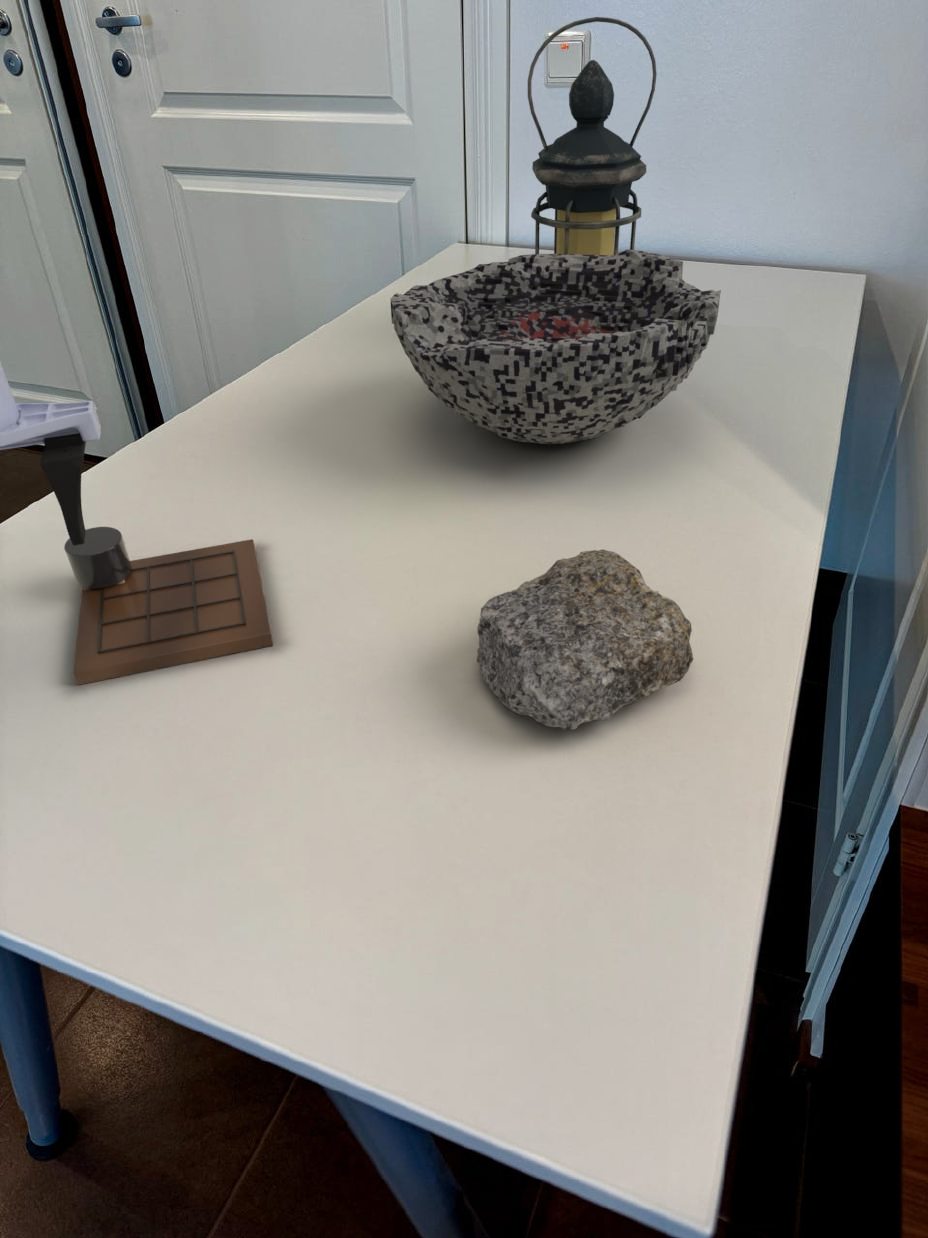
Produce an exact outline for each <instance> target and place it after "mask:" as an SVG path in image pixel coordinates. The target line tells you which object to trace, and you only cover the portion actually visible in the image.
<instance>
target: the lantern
mask: <svg viewBox="0 0 928 1238" xmlns="http://www.w3.org/2000/svg"><path fill="white" fill-rule="evenodd" d="M591 23H609V24H614V25H618V26H620V27H623V28H625V29H628V30H629V31H630V32H631V33H633V34H635V36H637V37H638V38H639V39H640V41H642V43H643V45H644V46H645V48H646V49H647V51H648V55H649V57H650V61H651V69H652V81H651V89H650V93H649V97H648V100H647V103H646V106H645V109H644V111H643V113H642V115H641V117H640V120H639V122H638V123H637V125H636V128H635V130H634V133H633V135H632V137H631V140H630V142H627V141H625V140H624V139H623V138H622V137H621V136H619V135H618V134H617V133H615V132H613V131H612V130H610V129H609V128H607V127H605V122H606V121H607V120H608V119H609V116H611V113H612V110H613V107H614V101H615V100H614V99H615V92H614V87H613V83H612V82H611V80H610V79H609V77H608V76H607V74H606V72H605V71H604V69H603V67H602V66H601V65H600V63H599V62H598V61H597V60H595V59H591V60H590V61H588V62H587V63H586V64H585V65H584V66H583V68H582V69H581V71H580V72H579V73H578V75H577V77H576V78H575V79H574V80H573V82H572V83H571V86H570V89H569V93H568V106H569V110H570V114H571V116H572V118H573V119H574V121H575V122H576V126H575V127H574V128H572V129H570V130H568V131H567V132H565V133H564V134H562V135H560V136H559V137H557V138H556V139H554V141H553V143H551V144H548V145H547V141H546V138H545V136H544V133H543V130H542V127H541V125H540V122H539V120H538V117H537V114H536V112H535V107H534V101H533V97H532V81H533V80H532V79H533V74H534V70H535V67H536V64H537V63H538V61H539V57H540V56H541V54H542V53H543V51H544V50H545V48H546V47H547V46H548V45H549V44H550V43H551V42H552V41H553V40H554V39H556V37H558V36H559V35H561V34H562V33H564V32H565V31H567V30H570V29H572V28H574V27H578V26H582V25H586V24H591ZM656 62H657V61H656V57H655V54H654V51H653V48H652V46H651V45H650V43H649V41H648V40H647V37H645V35H643V33H642V32H641V31H640V30H639V29H637V28H636V27H635V26H633V25H632V24H630V23H629V22H627V21H623V20H621V19H619V18H618V19H617V18H614V17H613V18H612V17H604V16H603V17H602V16H593V17H588V18H583V19H579V20H574V21H572V22H570V23H568V24H566V25H563V26H561V27H560V28H559V29H558V30H556V31H554V32H553V33H552V34H551V35H550V36H549V37H547V39H545V40H544V42H543V43H542V44H541V46H540V47H539V49H538V50H537V52H536V53H535V54H534V57H533V59H532V62H531V64H530V67H529V72H528V77H527V100H528V105H529V110H530V114H531V118H532V119H533V122H534V125H535V127H536V130H537V132H538V136H539V139H540V141H541V145H542V148H543V149H541V150H540V151H539V152H538V153H537V154H538V158H537V159H535V160H533V161H532V166H531V170H532V171H533V174H534V176H535V178H536V179H537V181H538V182H539V183H540V184H541V185H542V186H543V185H544V186H545V191H544V192H543V193H542V194H540V196H539V197H538V198H537V201H536V203H535V207H533V209H532V211H531V213H530V218H532V220H534V221H535V229H534V230H535V233H534V234H535V236H534V239H535V240H534V243H535V244H534V254H540V225H544V226H548V227H551V228H554V237H553V238H554V239H553V240H554V241H553V254H580V255H617V254H619V245H620V244H619V242H620V228H621V226H625V225H630V224H631V231H630V242H629V243H630V245H629V250H635V245H636V232H637V231H636V230H637V220H639V219H641V218H642V208H641V207H640V206H638V197H637V193H636V192H634V191H633V190H632V185H633V183H634V182H637V181H639V180H641V179H642V178H643V177H644V176H645V175H646V174H647V164H645V162H643V161H642V160H641V158H642V155H641V154H640V153H639V152H638V151H637V150H636V149H635V148H634V147H633V146H634V144H635V143H636V140H637V138H638V134H639V132H640V130H641V127H642V126H643V123H644V121H645V119H646V117H647V115H648V113H649V110H650V108H651V105H652V100H653V99H654V94H655V92H656V82H657V75H658V74H657V63H656ZM630 196H631V197H632V202H631V201H630ZM545 199H546V202H544V203H542V202H543V200H545ZM621 208H624V209H627V210H631V211H632V214H631V215H629V216H627V217H626V216H625V217H621ZM550 209H552V210H554V219H552V218H548V217H544V216H541V212H543V211H545V210H550Z"/></svg>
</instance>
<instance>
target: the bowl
mask: <svg viewBox="0 0 928 1238" xmlns="http://www.w3.org/2000/svg"><path fill="white" fill-rule="evenodd" d="M683 269H684V261H683V260H681V259H672V258H670V257H668V256H666V255H662V254H659V253H652V252H651V253H650V252H648V251H644V250H636V249H634V250H630V249H628V248H627V249H624V250H623V251H621V252H618V254H617V255H614V254H613V255H580V254H554V253H539V254H535V253H533V254H520V255H517V256H514V257H511V258H509V259H508V261H492V262H490V263H489V262H488V263H479V264H478V265H476V266H475V267H473V268H471V269H468V270H465V271H463V272H459V273H455V274H452V275H449V276H446V277H442V278H439V279H436V280H433V281H432V282H430V283H429V284H423V285H421V284H420V285H413V286H412V287H411V288H410V289H408V290H407V291H406V292H404V293H403V294H402V293H398V292H395V294H393V295H392V296H391V297H390V299H389V300H390V316H391V325H393V329H394V331H395V334H396V336H397V338H398V340H399V343H400V344H401V347H402V350H403V351H404V354H405V355H406V357H407V358H408V359H409V361H410V363H411V365H412V367H413V369H414V371H415V372H416V373H417V374H418V375H419V376H420V378H421V379H422V381H423V383H424V384H425V385H426V386H427V388H428V390H429V392H431V393H432V394H433V395H434V396H435V397H436V399H438V400H440V401H441V402H443V403H444V404H445V406H446V407H447V408H449V409H450V410H452V411H453V412H455V413H456V414H457V415H459V416H460V417H462V418H464V419H465V420H466V421H468V422H470V423H472V424H473V425H475V426H477V427H479V428H482V429H485V430H487V431H488V433H494V434H496V435H497V436H499V437H500V438H502V439H509V440H512V441H515V442H519V443H530V444H531V443H532V444H540V445H564V444H570V443H575V442H576V443H578V442H581V441H588V440H592V439H596V438H598V437H599V436H601V435H603V434H606V433H608V432H612V431H614V430H616V429H620V428H623V427H625V426H626V425H627V424H629V423H631V422H633V421H635V420H637V419H638V420H639V419H641V418H642V417H643V416H644V415H645V414H646V413H647V412H648V411H649V410H651V409H652V408H654V407H656V406H658V404H659V403H661V402H662V401H663V400H664V399H665V398H667V396H668V395H669V394H670V393H671V392H674V391H677V389H678V385H680V384H682V383H683V382H684V380H686V379H688V378H689V376H690V374H691V373H692V372H693V369H694V366H695V363H696V362H698V361H699V360H700V359H701V357H702V354H703V352H704V351H705V350H706V349H707V348H708V344H709V342H710V338H711V336H713V335H714V334H715V329H716V325H717V321H718V316H719V308H720V301H721V300H720V299H721V291H722V290H714V289H708V290H701V289H700V288H697V287H696V286H694V285H692V284H690V283H688V282H686V281H685V280H684V279H683V272H684V270H683Z"/></svg>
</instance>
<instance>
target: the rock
mask: <svg viewBox="0 0 928 1238" xmlns="http://www.w3.org/2000/svg"><path fill="white" fill-rule="evenodd" d="M692 631H693V628H692V621H690V620H689V619H688V618H687V617H686V615H685V614H684V612H683V611H682V609H681V607H680V606H679V605H678V604H677V602H675V601H674V600H673V599H671V598H669V597H667V596H664V595H662V594H661V593H660V592H659V591H658V590H655V591H654V590H653V589H652V588H650V586H648V585H647V583H646V582H645V579H644V576H643V575H642V572H641V571H640V570H639V569H638V568H637V567H636V566H635V565H633V564H632V563H630V562H629V561H628V560H627V559H626V558H624V557H623V556H622V555H620V554H618V553H617V552H615V551H611V550H607V549H600V550H599V549H598V550H596V549H595V550H584V551H580V553H578V554H577V555H575V556H573V557H568V558H561V559H557V560H556V561H555V562H554V563H553V565H552V566H551V567H549V569H548V570H547V571H546V572H545V573H543V574H541V575H539V576H537V577H534V578H533V579H531V580H528V581H527V580H526V581H524V582H523V583H521V584H520V585H519V587H518V588H517V589H513V590H510V591H506V592H503V593H500V594H498V595H494V596H493V597H492V598H489V599H488V600H487V601H486V602H485V604H484V605H483V606H482V607H480V617H479V622H478V624H477V635H478V637H479V639H478V648H477V650H476V651H477V657H476V662H477V664H478V668H479V673H480V674H481V676H482V678H483V680H484V682H485V683H486V684H487V685H488V688H489V689H490V690H491V691H492V692H493V694H494V696H496V697H497V698H499V701H500V702H501V703H502V704H503V705H504V707H506V708H507V709H509V710H510V711H511V712H512V713H516V714H519V715H520V716H521V717H523V716H529V717H531V718H533V719H534V721H536V722H538V723H540V724H542V725H544V726H546V727H550V728H561V729H563V730H576V729H578V727H579V725H581V724H583V723H590V722H592V721H594V720H595V721H599V720H601V721H608V720H609V719H610V718H612V717H613V716H614V715H616V713H617V712H618V711H620V709H622V708H623V707H624V706H625V705H631V704H632V703H633V702H637V701H640V700H642V699H644V698H646V697H648V696H650V695H652V694H653V693H656V692H658V691H660V690H661V689H663V688H665V687H669V686H671V685H674V684H676V683H678V682H681V681H682V680H683V678H684V677H685V675H686V674H687V673H688V672H689V669H690V667H691V665H692V663H693V661H694V654H693V649H692V647H691V643H690V641H691V635H692Z"/></svg>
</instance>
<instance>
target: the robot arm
mask: <svg viewBox="0 0 928 1238" xmlns="http://www.w3.org/2000/svg"><path fill="white" fill-rule="evenodd" d="M101 433H102V426H101V423H100V419H99V417H98V413H97V410H96V406H95V403H94V401H93V400H92V399H91V400H84V401H74V402H16V401H15V398H14V395H13V392H12V389H11V386H10V384H9V381H8V378H7V376H6V373H5V370H4V367H3V364H2V361H0V451H2V450H10V449H18V448H23V447H24V448H25V447H31V446H37V445H44V447H43V450H42V453H41V457H40V462H39V465H40V468H41V469H42V471H43V473H44V475H45V477H46V479H47V480H48V483H49V485H50V487H51V489H52V491H53V492H54V495H55V497H56V500H57V502H58V505H59V507H60V510H61V513H62V517H63V521H64V524H65V527H66V531H67V534H68V537H69V538H70V539H71V542H72V544H73V546H75V545H81V544H84V541H85V531H86V526H85V522H84V515H83V507H82V475H83V473H82V472H83V464H84V459H85V451H86V445H87V442H90V441H91V442H92V441H99V440H100V439H101Z"/></svg>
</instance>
